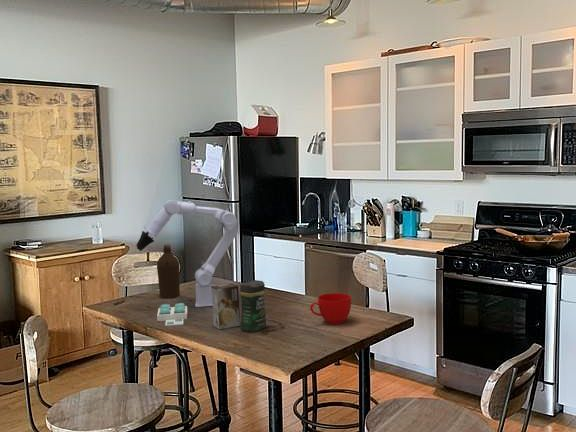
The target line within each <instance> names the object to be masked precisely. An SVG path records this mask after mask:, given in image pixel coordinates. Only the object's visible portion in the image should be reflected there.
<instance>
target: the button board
mask: <svg viewBox="0 0 576 432" xmlns="http://www.w3.org/2000/svg"><path fill="white" fill-rule="evenodd" d="M160 309H161V307H158V310H157V315H156V316H157V317H156V319H157V322H166V320H175V319H183V320H188V306H187V305H184V313H177V314H175V306H170V310H169V312H170V314H164V315H160Z"/></svg>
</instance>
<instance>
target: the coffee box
mask: <svg viewBox="0 0 576 432" xmlns="http://www.w3.org/2000/svg"><path fill="white" fill-rule="evenodd" d="M215 285H216V286H211V288H212V304H213V306H212V318H213V327H215V328H216V329H218V330H223V329H229V328H235V327H241V310H240V294H239V292H240V290H239V285H238V284H236V283H233V282H232V283H225V284H215Z"/></svg>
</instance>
